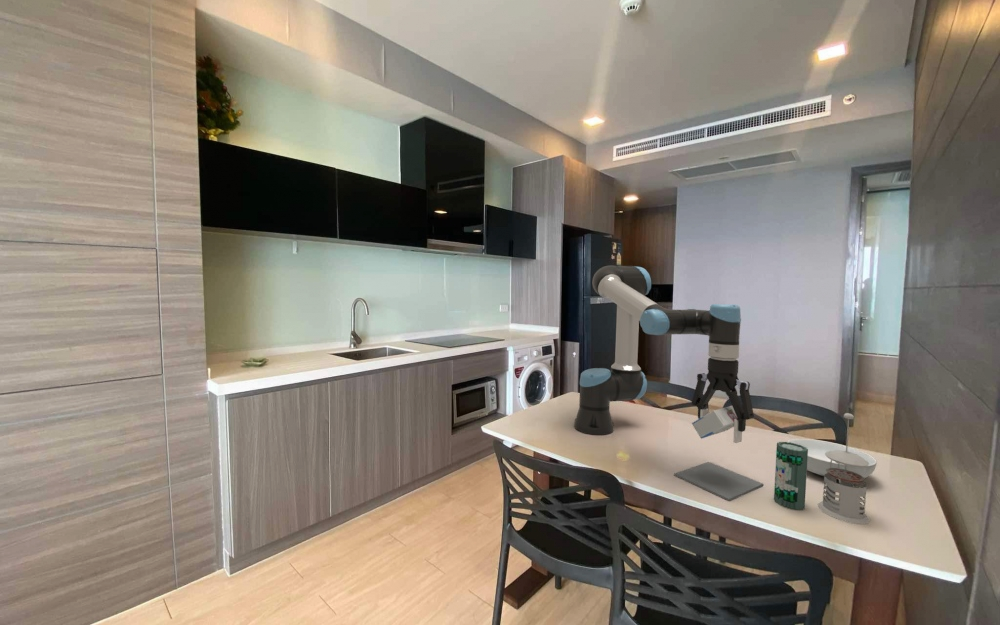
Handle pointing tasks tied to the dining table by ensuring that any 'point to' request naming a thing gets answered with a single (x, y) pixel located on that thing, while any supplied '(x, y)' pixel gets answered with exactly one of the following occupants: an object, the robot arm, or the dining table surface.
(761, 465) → the dining table surface
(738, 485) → the rubber mat
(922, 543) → the dining table surface
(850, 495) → the french press
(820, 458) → the serving bowl
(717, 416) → the ink box
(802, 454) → the can
